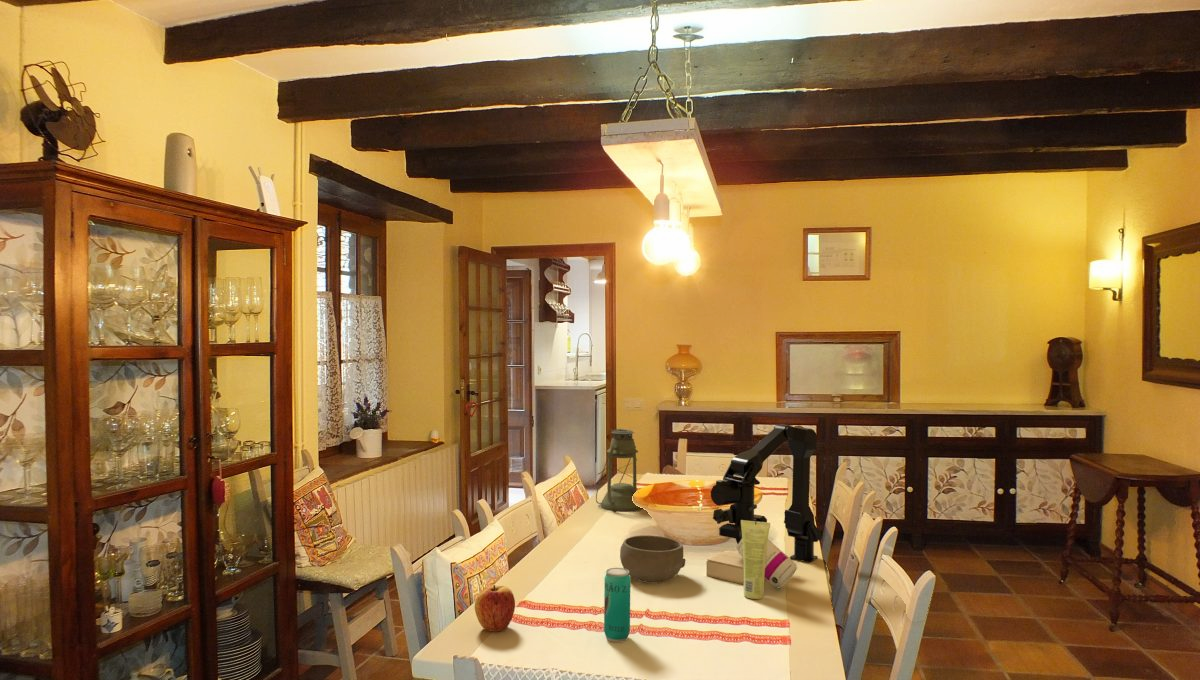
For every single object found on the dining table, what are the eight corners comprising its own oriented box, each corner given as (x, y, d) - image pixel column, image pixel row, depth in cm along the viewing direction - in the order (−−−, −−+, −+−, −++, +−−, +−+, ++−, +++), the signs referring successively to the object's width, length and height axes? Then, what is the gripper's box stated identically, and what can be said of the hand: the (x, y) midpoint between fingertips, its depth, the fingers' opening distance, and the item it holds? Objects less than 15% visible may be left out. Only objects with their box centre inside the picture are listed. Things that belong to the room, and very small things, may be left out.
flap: (727, 551, 223) (727, 550, 223) (770, 559, 215) (770, 558, 215) (718, 555, 219) (718, 554, 219) (762, 564, 211) (762, 563, 211)
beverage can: (602, 633, 172) (603, 567, 172) (628, 633, 172) (628, 566, 172) (605, 644, 166) (605, 575, 166) (631, 643, 167) (632, 575, 166)
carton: (726, 565, 223) (726, 549, 223) (771, 575, 215) (771, 558, 215) (706, 575, 214) (706, 559, 213) (752, 586, 205) (752, 569, 205)
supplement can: (793, 568, 197) (748, 528, 205) (774, 592, 199) (731, 551, 206) (801, 564, 204) (758, 526, 212) (783, 587, 206) (741, 548, 213)
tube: (757, 591, 201) (758, 517, 201) (769, 597, 196) (770, 522, 196) (739, 594, 198) (740, 519, 198) (751, 601, 194) (752, 524, 194)
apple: (480, 639, 168) (480, 594, 168) (470, 624, 176) (470, 581, 176) (519, 633, 172) (520, 589, 172) (508, 619, 180) (508, 577, 180)
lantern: (626, 514, 284) (627, 434, 284) (587, 508, 294) (588, 430, 294) (653, 504, 301) (654, 428, 301) (616, 498, 311) (616, 425, 311)
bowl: (691, 573, 216) (692, 538, 216) (670, 592, 200) (670, 554, 200) (635, 564, 223) (635, 530, 223) (610, 582, 207) (610, 546, 207)
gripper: (733, 491, 228) (732, 544, 228) (702, 502, 213) (701, 558, 213) (768, 497, 221) (767, 550, 222) (738, 508, 207) (737, 566, 207)
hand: (743, 556), depth 216 cm, fingers closed
